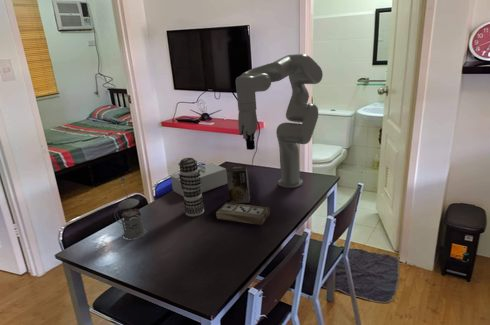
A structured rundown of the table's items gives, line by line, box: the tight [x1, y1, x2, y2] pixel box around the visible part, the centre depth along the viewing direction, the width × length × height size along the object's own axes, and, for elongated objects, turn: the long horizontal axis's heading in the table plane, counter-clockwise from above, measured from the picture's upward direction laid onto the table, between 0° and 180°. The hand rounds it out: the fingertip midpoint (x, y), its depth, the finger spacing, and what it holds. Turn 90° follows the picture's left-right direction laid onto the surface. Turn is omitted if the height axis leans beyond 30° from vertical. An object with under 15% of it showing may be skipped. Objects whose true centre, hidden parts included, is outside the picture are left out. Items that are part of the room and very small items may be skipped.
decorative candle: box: [178, 157, 205, 217], centre depth 153 cm, size 9×9×25 cm
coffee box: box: [226, 165, 251, 204], centre depth 162 cm, size 9×6×16 cm
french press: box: [113, 176, 148, 239], centre depth 139 cm, size 10×12×25 cm
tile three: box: [235, 206, 251, 214], centre depth 149 cm, size 5×5×3 cm
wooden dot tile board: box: [215, 202, 271, 226], centre depth 149 cm, size 10×21×3 cm, turn 66°
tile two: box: [249, 208, 265, 216], centre depth 146 cm, size 5×5×3 cm
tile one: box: [221, 204, 237, 212], centre depth 152 cm, size 5×5×3 cm
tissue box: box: [170, 162, 228, 198], centre depth 183 cm, size 14×25×11 cm, turn 128°
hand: (250, 149), depth 150 cm, fingers closed
